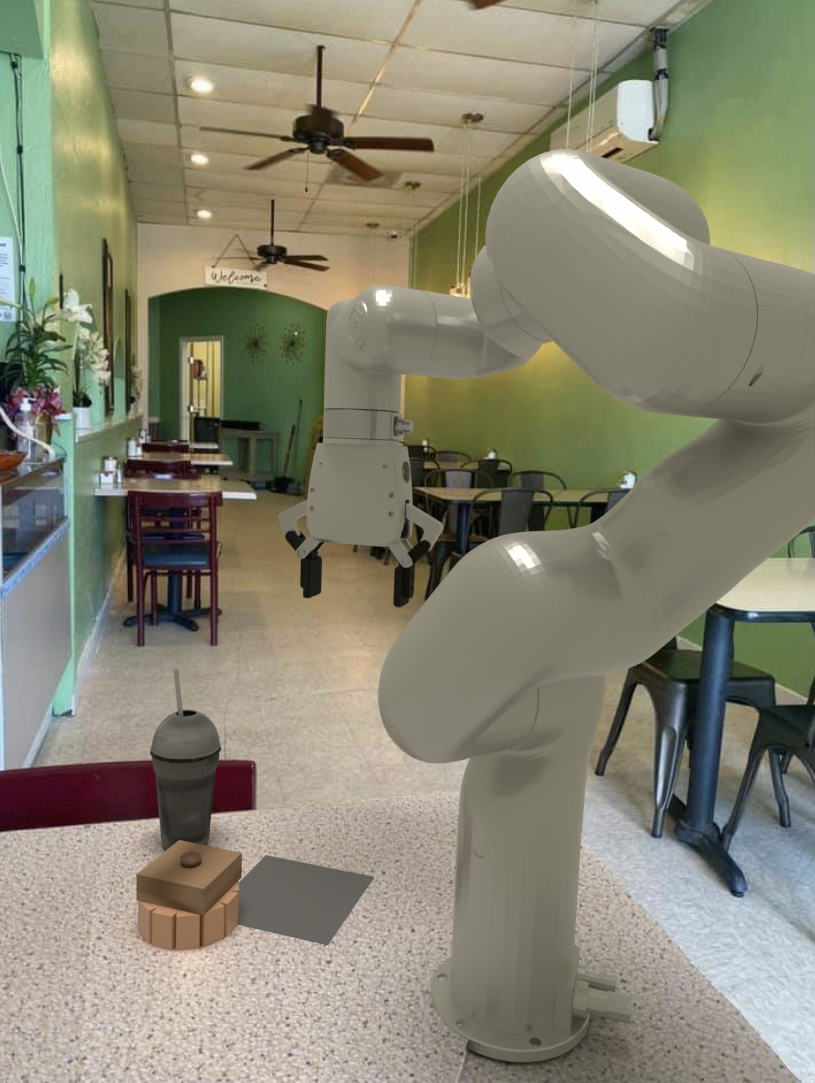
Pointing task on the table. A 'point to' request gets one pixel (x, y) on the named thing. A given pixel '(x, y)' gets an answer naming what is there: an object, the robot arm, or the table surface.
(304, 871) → the mat
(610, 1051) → the table surface
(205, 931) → the bowl
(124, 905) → the table surface
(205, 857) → the lid
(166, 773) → the beverage cup
